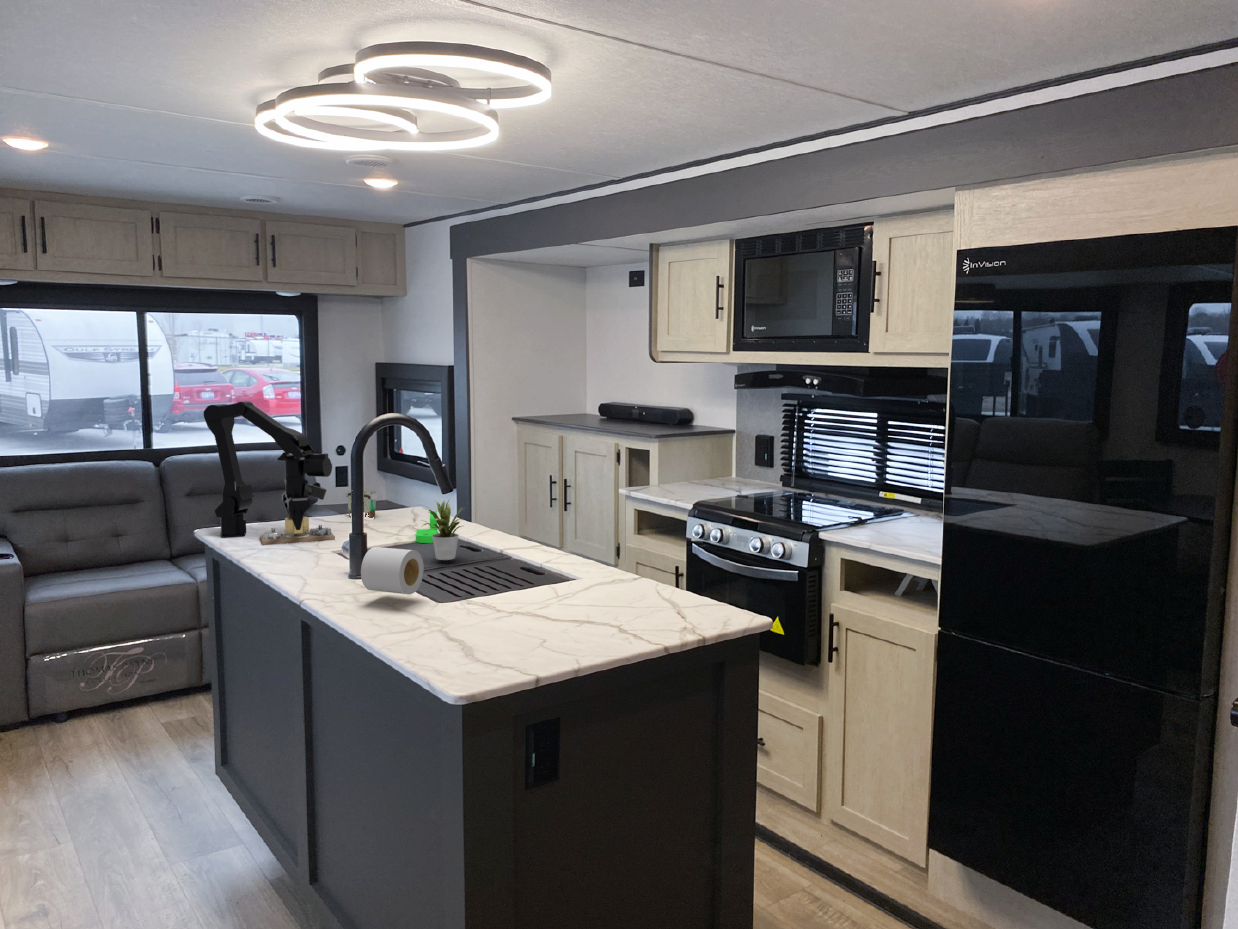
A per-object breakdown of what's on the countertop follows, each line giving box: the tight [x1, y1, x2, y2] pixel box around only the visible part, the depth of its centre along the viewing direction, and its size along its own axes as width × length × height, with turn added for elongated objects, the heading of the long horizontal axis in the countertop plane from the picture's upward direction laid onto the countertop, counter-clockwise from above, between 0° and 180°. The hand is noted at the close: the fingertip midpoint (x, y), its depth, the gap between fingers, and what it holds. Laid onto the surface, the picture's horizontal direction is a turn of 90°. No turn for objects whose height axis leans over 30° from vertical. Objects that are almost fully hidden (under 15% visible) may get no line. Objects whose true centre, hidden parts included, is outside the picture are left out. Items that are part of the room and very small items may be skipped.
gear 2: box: [309, 524, 332, 536], centre depth 272 cm, size 6×6×3 cm
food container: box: [345, 489, 379, 518], centre depth 303 cm, size 12×6×10 cm, turn 58°
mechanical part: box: [415, 510, 439, 544], centre depth 274 cm, size 12×6×8 cm, turn 9°
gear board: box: [259, 531, 336, 546], centre depth 269 cm, size 20×10×5 cm, turn 116°
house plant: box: [417, 499, 465, 561], centre depth 246 cm, size 14×14×16 cm
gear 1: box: [261, 527, 286, 539], centre depth 267 cm, size 6×6×3 cm
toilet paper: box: [360, 546, 425, 595], centre depth 208 cm, size 10×10×10 cm
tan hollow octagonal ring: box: [284, 516, 310, 534], centre depth 269 cm, size 6×6×4 cm
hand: (296, 528), depth 269 cm, fingers closed on tan hollow octagonal ring, 6 cm apart
